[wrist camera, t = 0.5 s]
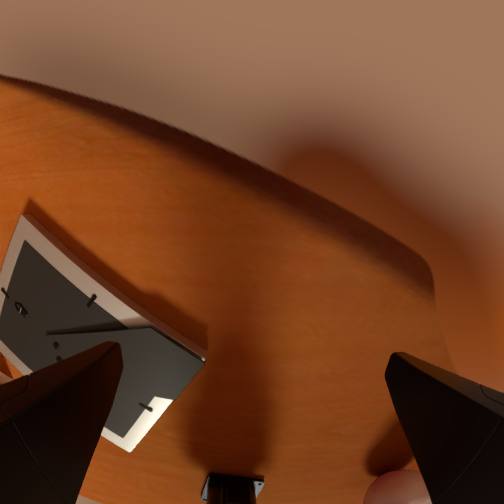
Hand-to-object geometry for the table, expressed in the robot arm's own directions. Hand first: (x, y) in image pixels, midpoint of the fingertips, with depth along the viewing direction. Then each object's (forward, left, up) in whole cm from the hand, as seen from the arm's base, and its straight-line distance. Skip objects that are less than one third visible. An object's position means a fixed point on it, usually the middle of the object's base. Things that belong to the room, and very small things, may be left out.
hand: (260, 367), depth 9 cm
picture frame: (-11, +14, -16) cm, 24 cm away
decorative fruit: (-23, -25, -15) cm, 37 cm away
